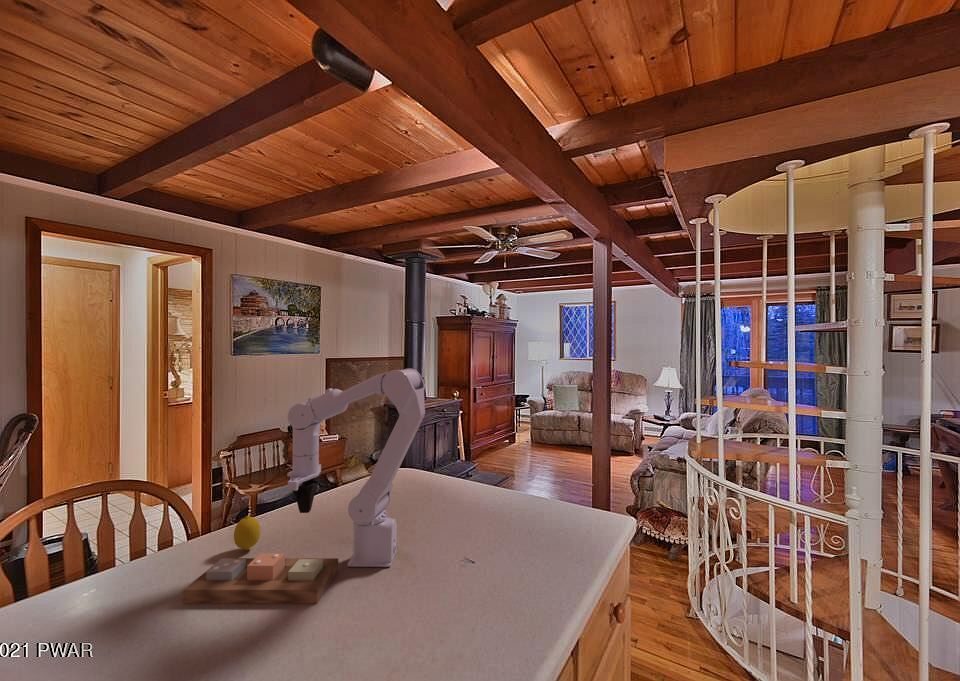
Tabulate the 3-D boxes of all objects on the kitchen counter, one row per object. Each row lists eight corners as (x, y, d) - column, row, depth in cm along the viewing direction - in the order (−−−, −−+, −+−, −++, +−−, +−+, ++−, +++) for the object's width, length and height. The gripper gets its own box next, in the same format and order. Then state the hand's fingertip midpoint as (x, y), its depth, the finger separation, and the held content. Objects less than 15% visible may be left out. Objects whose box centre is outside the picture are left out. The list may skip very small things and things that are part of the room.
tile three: (245, 575, 88) (245, 557, 88) (231, 589, 83) (231, 570, 83) (221, 575, 88) (221, 557, 88) (206, 589, 83) (206, 570, 83)
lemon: (248, 557, 97) (249, 521, 97) (227, 554, 98) (228, 519, 98) (265, 546, 103) (266, 512, 103) (245, 543, 104) (246, 510, 104)
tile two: (284, 570, 88) (284, 552, 88) (272, 583, 83) (273, 564, 83) (260, 570, 88) (260, 552, 88) (247, 583, 83) (247, 564, 83)
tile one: (323, 575, 88) (323, 558, 88) (313, 589, 83) (313, 570, 83) (298, 575, 88) (299, 558, 88) (288, 589, 83) (288, 570, 83)
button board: (338, 570, 91) (338, 558, 92) (317, 603, 79) (317, 589, 80) (222, 569, 91) (222, 558, 91) (183, 603, 79) (183, 589, 79)
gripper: (301, 446, 107) (301, 500, 107) (273, 461, 93) (273, 524, 92) (329, 446, 107) (329, 500, 107) (306, 461, 93) (305, 524, 92)
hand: (305, 511), depth 100 cm, fingers closed
